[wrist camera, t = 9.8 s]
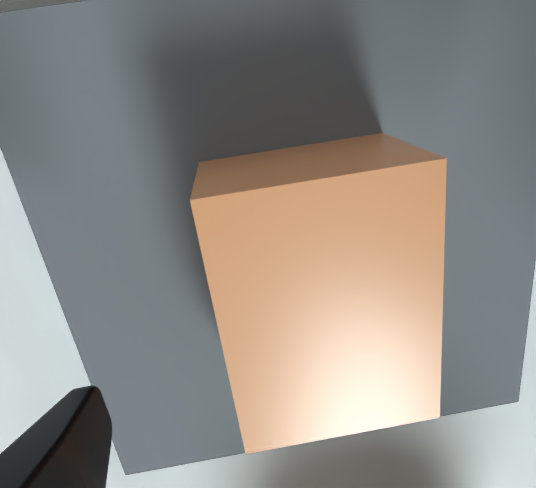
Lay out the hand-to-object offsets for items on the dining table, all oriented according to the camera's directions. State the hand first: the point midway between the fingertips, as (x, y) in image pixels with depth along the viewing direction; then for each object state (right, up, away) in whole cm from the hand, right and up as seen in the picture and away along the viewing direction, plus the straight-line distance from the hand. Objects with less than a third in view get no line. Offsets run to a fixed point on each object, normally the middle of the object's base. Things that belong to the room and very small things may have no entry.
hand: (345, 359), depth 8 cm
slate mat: (0, +2, +5) cm, 5 cm away
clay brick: (0, +2, +4) cm, 5 cm away
